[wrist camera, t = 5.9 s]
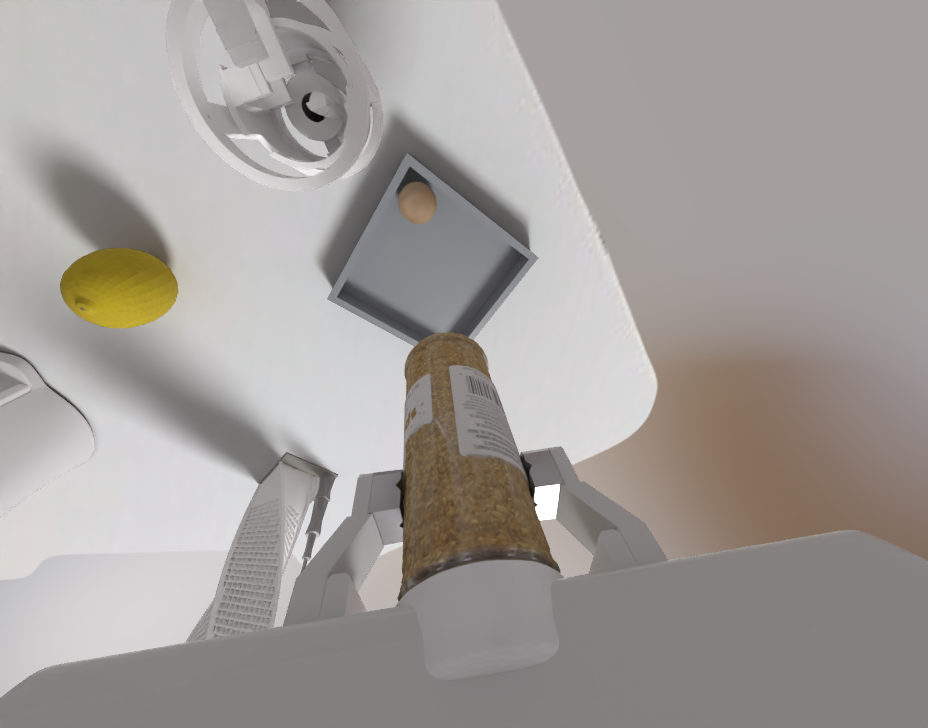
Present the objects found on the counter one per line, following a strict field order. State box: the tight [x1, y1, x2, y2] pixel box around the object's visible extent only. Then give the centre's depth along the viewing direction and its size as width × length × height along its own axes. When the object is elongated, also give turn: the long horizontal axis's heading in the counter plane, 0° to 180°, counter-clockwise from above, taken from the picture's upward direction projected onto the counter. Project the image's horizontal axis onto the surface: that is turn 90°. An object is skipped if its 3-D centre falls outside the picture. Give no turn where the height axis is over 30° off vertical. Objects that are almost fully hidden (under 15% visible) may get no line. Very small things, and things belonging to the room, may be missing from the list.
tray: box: [327, 153, 538, 346], centre depth 30 cm, size 13×13×2 cm
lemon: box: [60, 248, 178, 328], centre depth 25 cm, size 6×6×8 cm
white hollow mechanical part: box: [166, 0, 383, 191], centre depth 18 cm, size 7×7×15 cm
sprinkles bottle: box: [396, 333, 564, 680], centre depth 13 cm, size 5×5×13 cm
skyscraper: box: [185, 453, 338, 643], centre depth 32 cm, size 8×8×28 cm
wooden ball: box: [398, 182, 437, 224], centre depth 26 cm, size 3×3×3 cm
